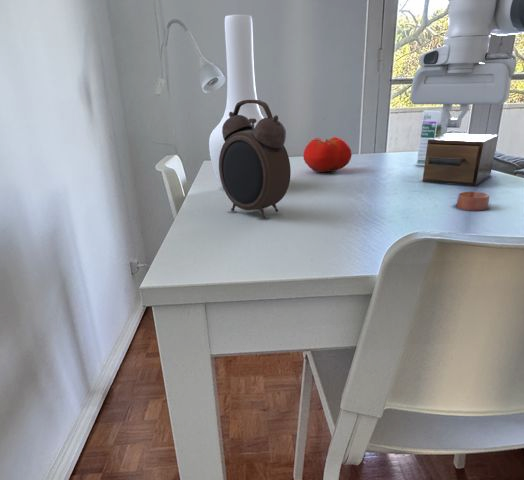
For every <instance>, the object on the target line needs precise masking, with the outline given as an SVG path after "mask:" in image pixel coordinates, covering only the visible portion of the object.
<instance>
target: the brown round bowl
mask: <svg viewBox="0 0 524 480" xmlns="http://www.w3.org/2000/svg"><path fill="white" fill-rule="evenodd" d="M490 196H491V195H490V194H488V193H486V192H480V191H463V192H460V193H458V197H457V202H456V203H457V204H456V208H458V209H459V210H465V211H474V212H475V211H478V212H479V211H485V210H487V209H488V206H489V201H490Z"/></svg>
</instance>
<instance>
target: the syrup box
mask: <svg viewBox="0 0 524 480" xmlns="http://www.w3.org/2000/svg"><path fill="white" fill-rule="evenodd" d="M449 112H450V113H451V111H450V110H449ZM445 124H446V118H445V115H444V113H443V109H425V110H423V111H422V118H421V124H420V133H419V141H418V150H417V157H416V163H415V166H417V167H419V166H420V167H424V166H425V159H426V151H427V144H428V139H432V138H435V137H438V136H441V135H444V134H448V133H447V132H448V131H447V130H448V128H447V127H445Z"/></svg>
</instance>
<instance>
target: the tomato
mask: <svg viewBox="0 0 524 480" xmlns="http://www.w3.org/2000/svg"><path fill="white" fill-rule="evenodd" d="M302 156H303V160H304V163H305V165H307V167H308V168H309V169H311V170H312V171H315V172H320V173H327V172H329V171H330V172H332V171H333V172H336V171H338V170H342V169H343V168H345V167H346V166H347V165H349V163H350V162H351V159H352V156H353V154H352V150H351V147H350V146H349V144H348V143H347V142H346V141H345V140H344V139H343V138H341V137H336V136H333V137H330V138H329V139H325V140H324V139H322V138H320V137H317V138H313V139H311V140H310V142H308V144H307V145H306V146H305V148H304V150H303V155H302Z"/></svg>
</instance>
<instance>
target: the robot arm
mask: <svg viewBox="0 0 524 480" xmlns="http://www.w3.org/2000/svg"><path fill="white" fill-rule="evenodd" d="M448 5H449V6H448V13H447V17H448V25H447V30H446V32H445V35H444V38H443V39H444V40H443V45H441V46H438V47H436V48H434V49H432V50H428V51H426V52H424V53H422V54H420V55H419V57H418V65H419V66H420V67H419V68H417V69H416V71H415V73H414V75H413V78H412V83H411V88H410V95H409V100H410V102H411V104H412V105H442V110H443V113H444V115H445V118H446V124H445V127H447V129H448V128H453V129H460V128H461V127H462V126H461V125H462V120H463V118H464V117H465V116H466V114H468V111H469V110H470V105H504V104H505V103H506V102H507V101H508V100H509V98H510V92H511V84H512V76H513V75H514V74H515V72H516V69H517V68H516V67H517V63H518V62H517V61H518V60H517V58H516V57H515V56H514V55H513V54H511V52H501V53H499V52H488V51H489V48H490V47H489V46H490V41H491V37H492V35H495V36H499V37H502V36H503V37H504V36H512V35H520V34H524V0H449V4H448ZM453 105H459V111H461V112H459V115H458V116H457V118H454V117H452V115H451V111H450V112H449V110H452V109H453Z"/></svg>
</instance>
